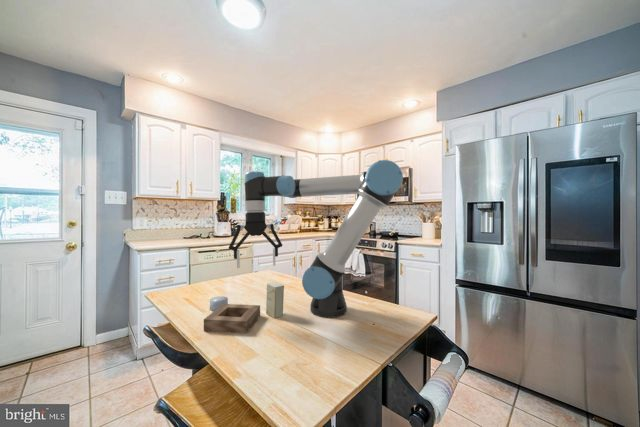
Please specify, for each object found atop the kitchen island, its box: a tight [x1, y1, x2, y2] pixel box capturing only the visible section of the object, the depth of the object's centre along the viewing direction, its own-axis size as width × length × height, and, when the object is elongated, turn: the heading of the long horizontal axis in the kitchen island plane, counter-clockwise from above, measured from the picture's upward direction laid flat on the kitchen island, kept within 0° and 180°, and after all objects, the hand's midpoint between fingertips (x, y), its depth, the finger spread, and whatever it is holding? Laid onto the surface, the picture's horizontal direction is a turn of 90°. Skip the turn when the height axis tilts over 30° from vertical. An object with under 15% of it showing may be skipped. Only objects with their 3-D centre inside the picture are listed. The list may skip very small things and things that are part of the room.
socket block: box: [203, 303, 261, 334], centre depth 97 cm, size 15×15×4 cm
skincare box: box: [265, 281, 285, 319], centre depth 105 cm, size 6×4×12 cm
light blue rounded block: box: [209, 295, 229, 312], centre depth 111 cm, size 7×7×4 cm
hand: (256, 266), depth 103 cm, fingers open, 13 cm apart
